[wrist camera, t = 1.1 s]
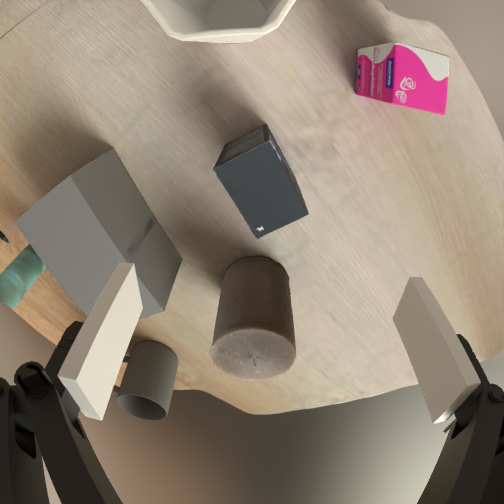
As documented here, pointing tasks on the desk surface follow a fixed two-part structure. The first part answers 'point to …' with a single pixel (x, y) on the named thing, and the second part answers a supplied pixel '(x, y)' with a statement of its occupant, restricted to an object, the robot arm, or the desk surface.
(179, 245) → the desk surface
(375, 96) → the supplement box
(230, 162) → the box
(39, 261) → the tethered cylinder
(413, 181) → the desk surface
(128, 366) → the mug
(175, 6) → the cup
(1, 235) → the pen
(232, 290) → the pillar candle
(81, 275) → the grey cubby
